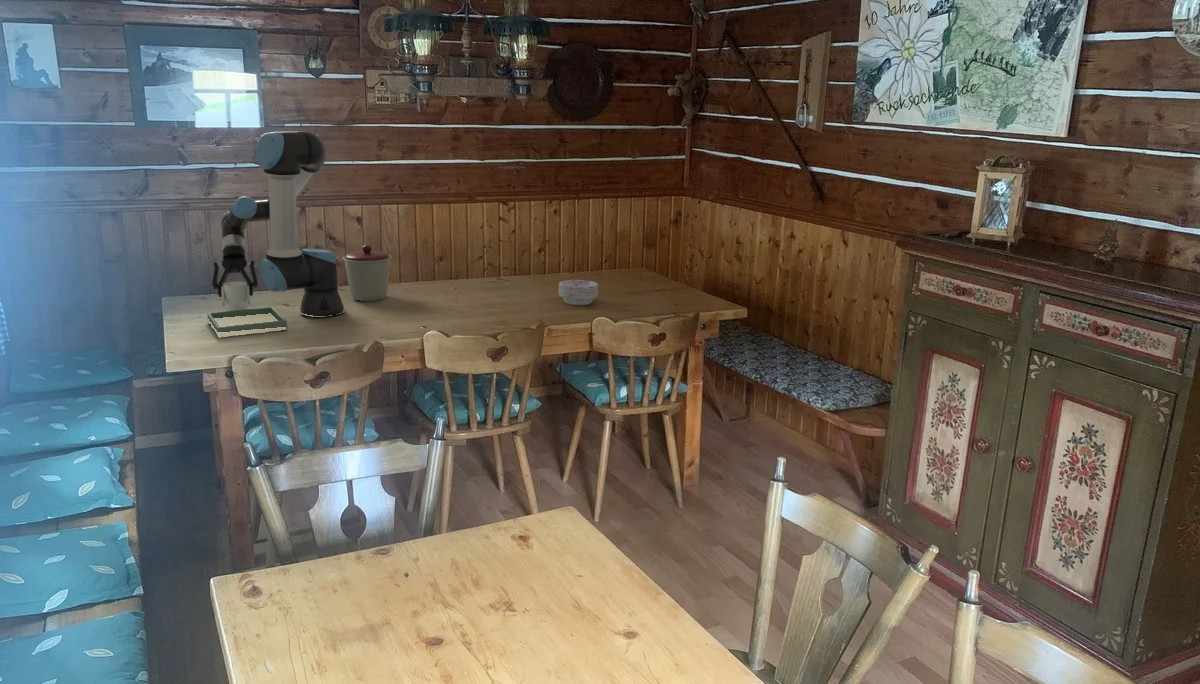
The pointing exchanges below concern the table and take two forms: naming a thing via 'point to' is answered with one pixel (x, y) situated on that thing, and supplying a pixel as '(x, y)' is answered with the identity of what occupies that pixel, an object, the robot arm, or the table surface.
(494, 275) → the table surface
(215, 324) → the green box
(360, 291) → the canister
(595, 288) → the paper bowls
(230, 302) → the white cup
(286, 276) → the robot arm
